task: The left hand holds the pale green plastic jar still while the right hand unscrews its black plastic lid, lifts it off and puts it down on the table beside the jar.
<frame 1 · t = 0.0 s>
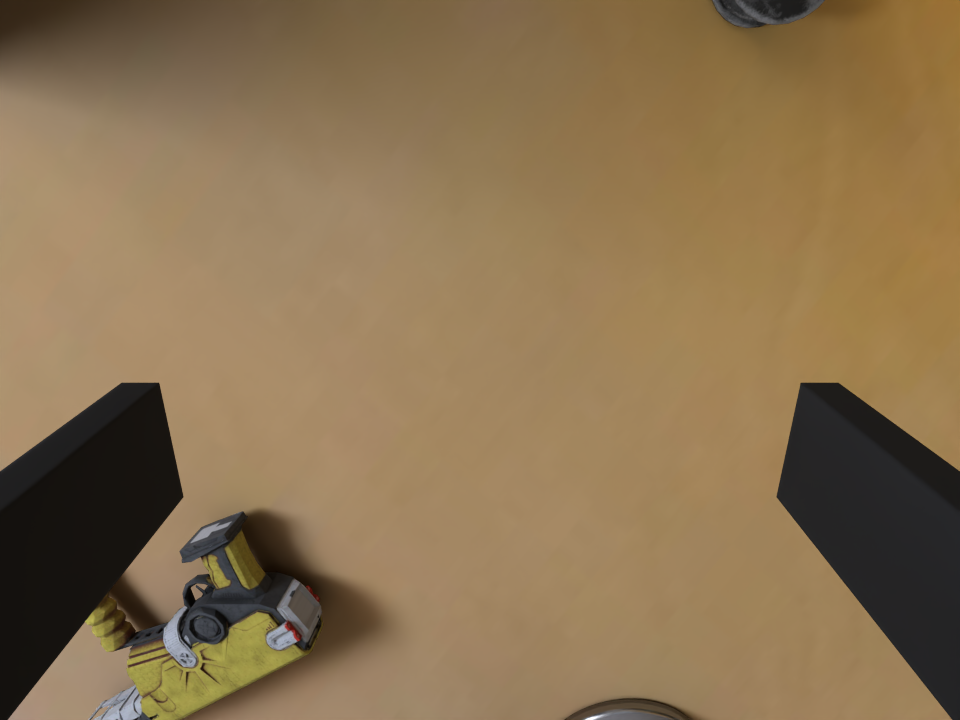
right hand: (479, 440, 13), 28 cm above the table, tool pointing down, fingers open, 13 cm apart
toy gun: (170, 606, 50), on the table
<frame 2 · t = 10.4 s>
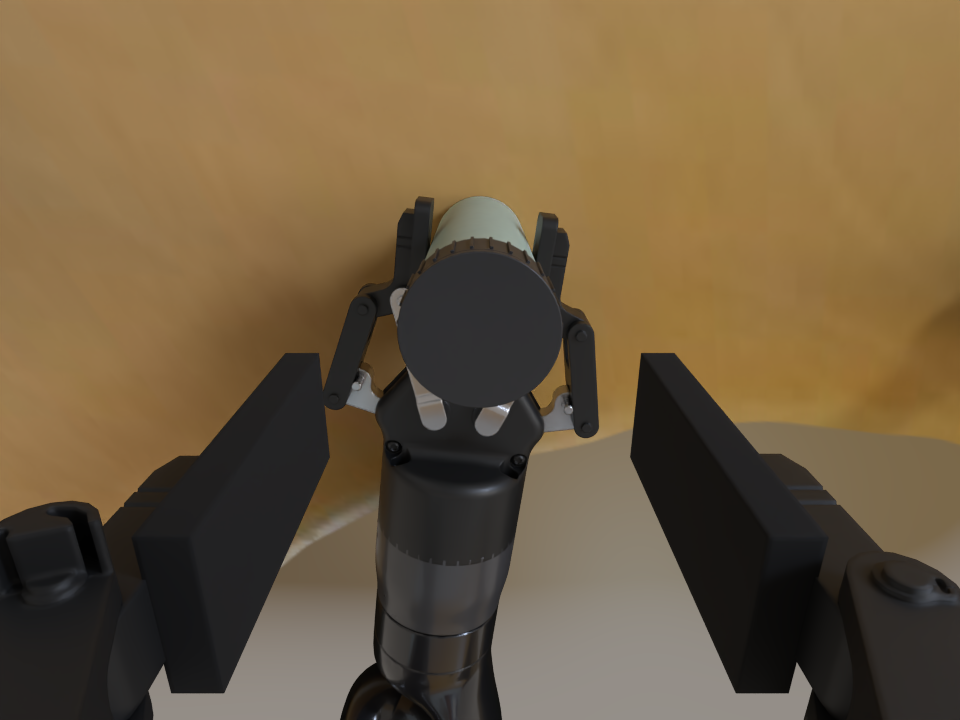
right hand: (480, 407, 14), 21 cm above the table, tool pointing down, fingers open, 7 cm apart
left hand: (486, 209, 27), fingers closed on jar, 5 cm apart
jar: (479, 240, 34), on the table, touching left hand
lid: (479, 330, 19), point 16 cm above the table, screwed on, not yet turned
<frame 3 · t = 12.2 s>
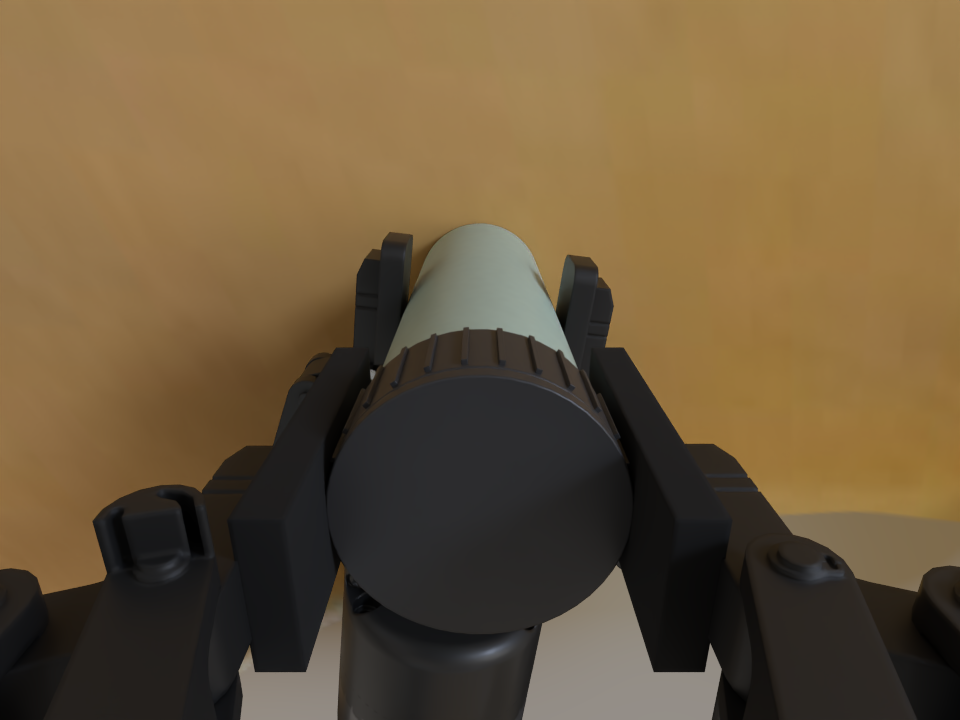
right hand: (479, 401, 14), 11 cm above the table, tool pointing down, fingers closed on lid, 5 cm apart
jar: (479, 282, 25), on the table, touching left hand
lid: (479, 505, 11), point 16 cm above the table, screwed on, not yet turned, touching right hand
when the right hand's fingers open (12 cm above the table, at t = 13.5 s): lid stays where it is, point 16 cm above the table.
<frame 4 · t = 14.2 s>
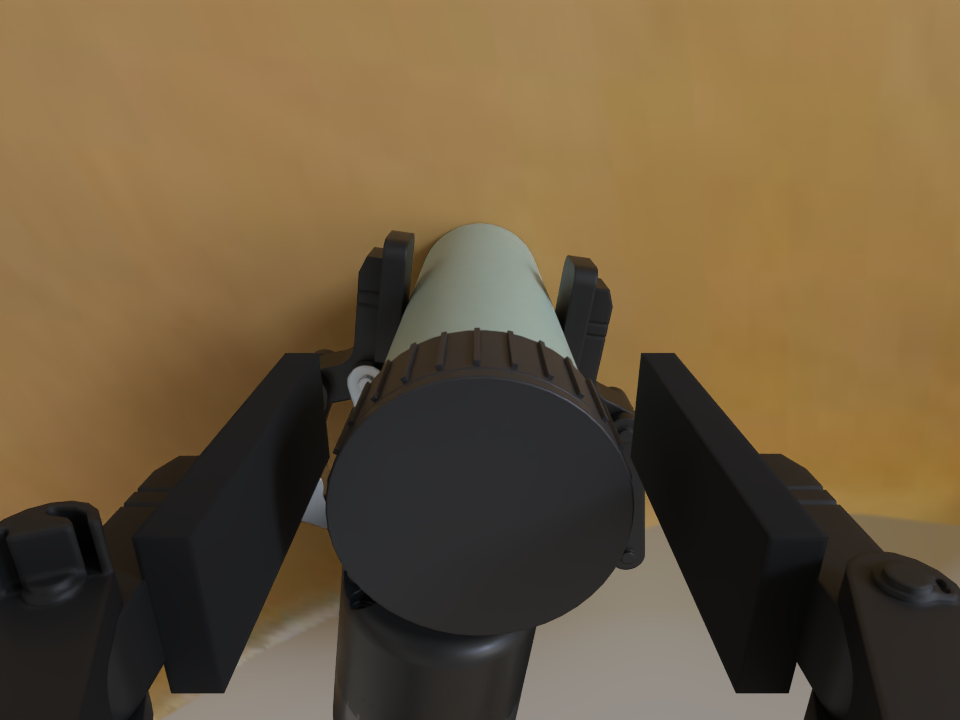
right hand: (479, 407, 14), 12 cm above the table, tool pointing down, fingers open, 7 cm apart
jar: (479, 282, 25), on the table, touching left hand
lid: (479, 506, 11), point 16 cm above the table, turned 76° so far, risen 0.2 cm, still on its thread
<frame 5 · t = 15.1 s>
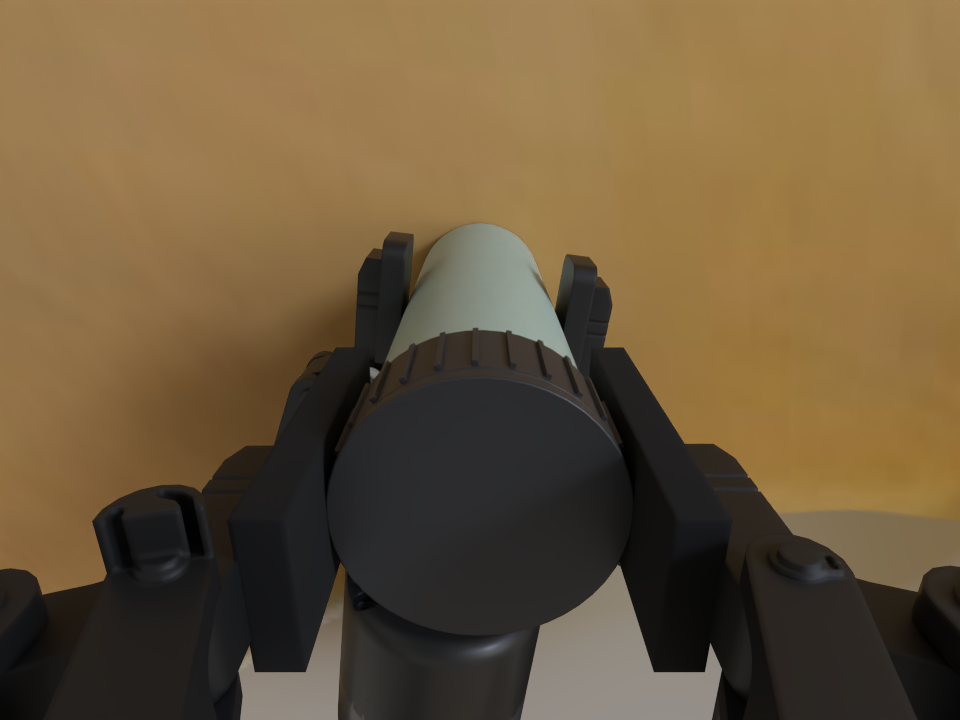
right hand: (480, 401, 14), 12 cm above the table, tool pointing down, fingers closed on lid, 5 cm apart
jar: (479, 282, 25), on the table, touching left hand
lid: (479, 506, 11), point 16 cm above the table, turned 76° so far, risen 0.2 cm, still on its thread, touching right hand
when the right hand's fingers open (0 cm above the table, at t = 20.4 s): lid drops 2 cm, point 2 cm above the table.
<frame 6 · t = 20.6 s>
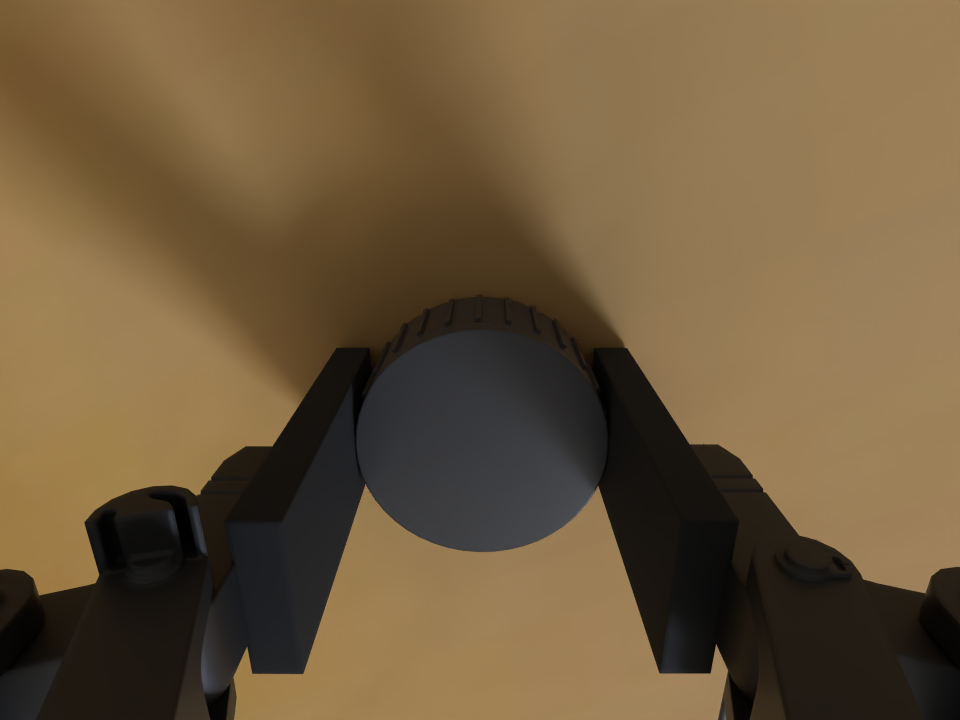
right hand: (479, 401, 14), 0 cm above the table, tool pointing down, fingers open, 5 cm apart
lid: (481, 441, 13), point 2 cm above the table, off its thread
when the left hand's fingers open (7 cm above the table, at t = 22.1 s): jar stays where it is, on the table.
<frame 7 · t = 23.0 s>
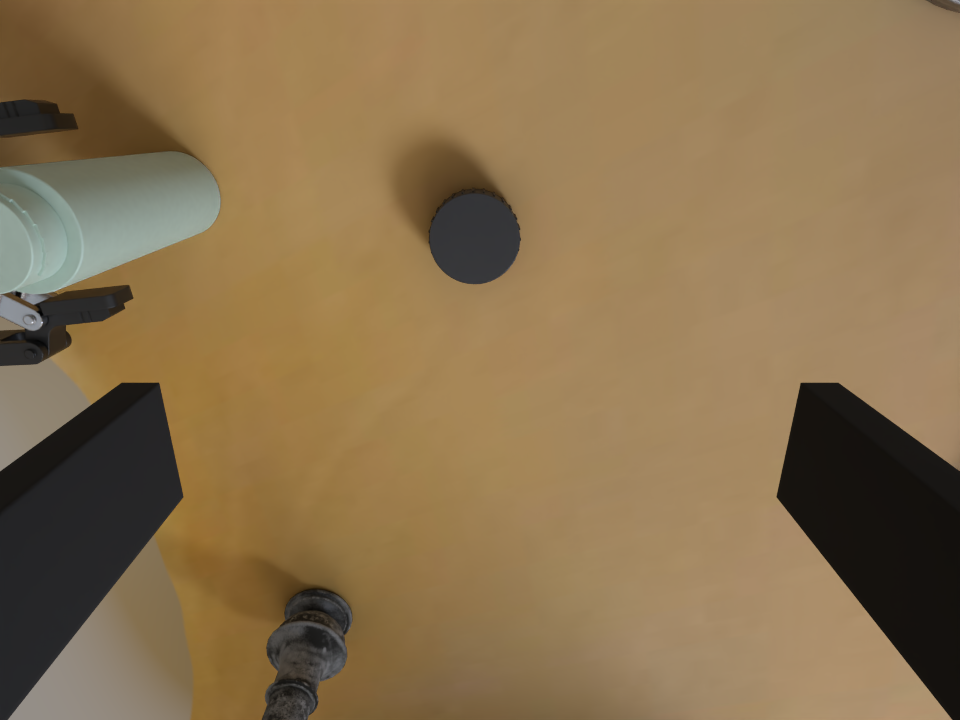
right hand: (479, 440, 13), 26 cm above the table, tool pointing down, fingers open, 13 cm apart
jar: (179, 194, 36), on the table
lid: (474, 238, 35), point 2 cm above the table, off its thread
dark ridged upright piece: (319, 614, 48), on the table
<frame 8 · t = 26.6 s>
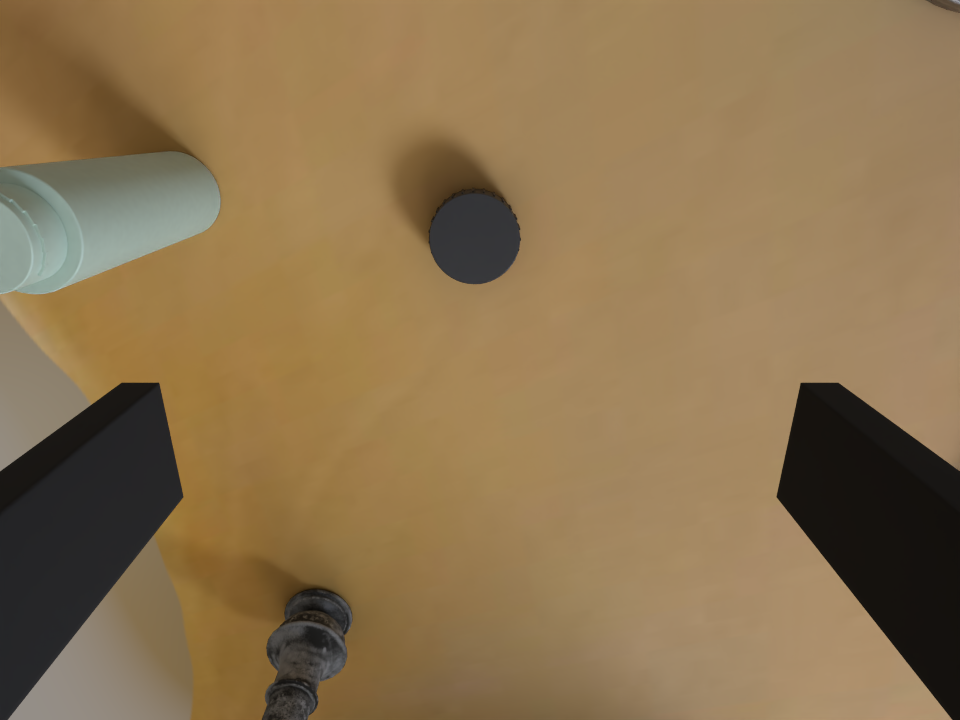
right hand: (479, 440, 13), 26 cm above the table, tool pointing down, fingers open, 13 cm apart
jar: (179, 194, 36), on the table
lid: (474, 238, 35), point 2 cm above the table, off its thread
dark ridged upright piece: (319, 614, 48), on the table
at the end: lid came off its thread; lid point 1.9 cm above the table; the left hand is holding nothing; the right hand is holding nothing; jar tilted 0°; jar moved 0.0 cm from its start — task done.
